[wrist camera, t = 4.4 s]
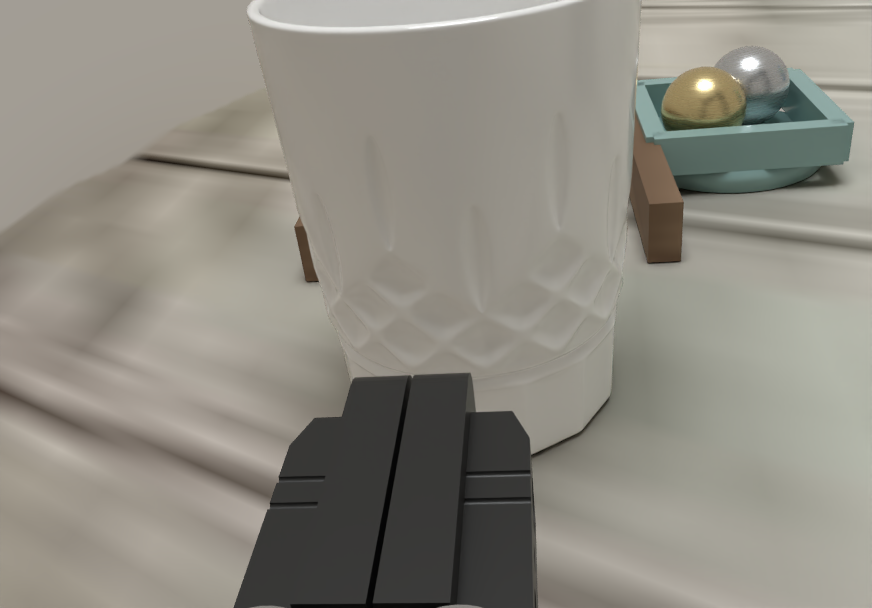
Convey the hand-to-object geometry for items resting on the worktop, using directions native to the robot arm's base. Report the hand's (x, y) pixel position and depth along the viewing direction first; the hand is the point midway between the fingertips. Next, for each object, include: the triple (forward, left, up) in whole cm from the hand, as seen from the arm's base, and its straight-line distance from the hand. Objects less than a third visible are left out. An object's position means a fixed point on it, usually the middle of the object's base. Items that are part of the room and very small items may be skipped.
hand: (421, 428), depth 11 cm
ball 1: (-8, -22, -4) cm, 24 cm away
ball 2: (-10, -24, -4) cm, 27 cm away
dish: (-9, -23, -6) cm, 26 cm away
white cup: (0, -9, -6) cm, 11 cm away
